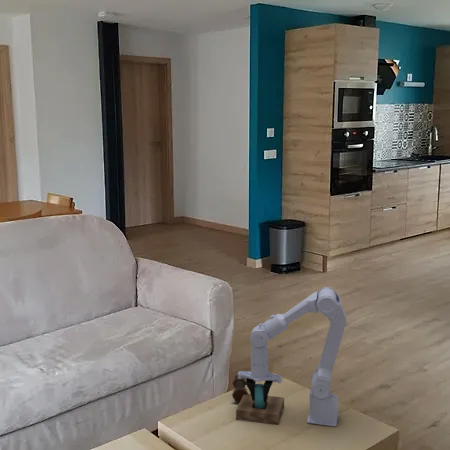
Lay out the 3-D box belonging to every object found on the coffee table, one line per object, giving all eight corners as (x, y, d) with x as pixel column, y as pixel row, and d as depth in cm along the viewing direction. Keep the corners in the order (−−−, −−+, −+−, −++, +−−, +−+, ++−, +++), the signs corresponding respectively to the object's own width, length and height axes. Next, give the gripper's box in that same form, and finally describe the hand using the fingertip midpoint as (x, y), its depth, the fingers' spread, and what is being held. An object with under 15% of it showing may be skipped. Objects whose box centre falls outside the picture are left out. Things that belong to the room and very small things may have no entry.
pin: (265, 405, 200) (265, 383, 199) (264, 410, 197) (264, 388, 196) (255, 405, 201) (254, 383, 199) (254, 410, 198) (253, 388, 196)
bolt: (241, 387, 222) (242, 406, 207) (229, 381, 222) (230, 399, 207) (248, 374, 221) (250, 392, 206) (237, 368, 221) (238, 386, 206)
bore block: (284, 406, 205) (284, 397, 204) (277, 424, 193) (277, 414, 193) (244, 402, 208) (244, 393, 208) (236, 419, 197) (236, 409, 196)
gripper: (235, 365, 194) (235, 403, 197) (279, 369, 190) (279, 408, 193) (240, 356, 201) (240, 393, 204) (282, 360, 197) (282, 398, 200)
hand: (259, 400), depth 199 cm, fingers closed on pin, 3 cm apart
